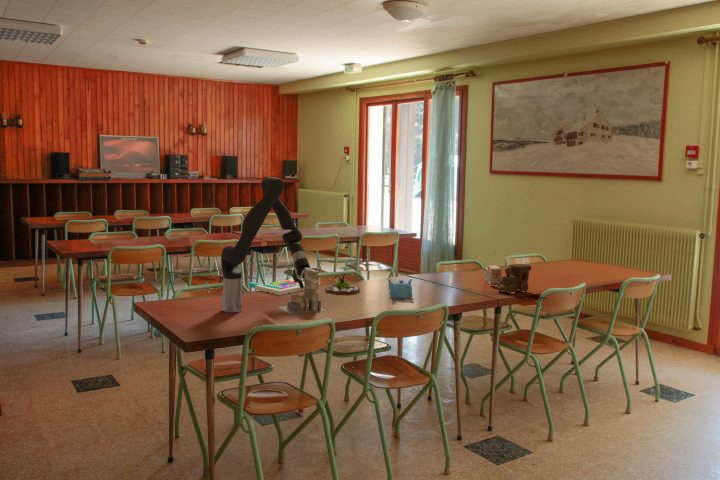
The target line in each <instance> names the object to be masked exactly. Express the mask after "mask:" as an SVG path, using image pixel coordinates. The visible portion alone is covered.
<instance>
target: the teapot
mask: <svg viewBox="0 0 720 480" xmlns="http://www.w3.org/2000/svg"><path fill="white" fill-rule="evenodd" d="M386 280H387V281H388V290H389V296H390V297H391V298H392V299H395V300H408V299H410V298H413V295H414V294H413V286H412V281H413V278H411V279H409V280H408V282H405V281H404V280H403V279H399V280H398V281H395V282H394V283H392V280H391V279H390V278H386Z"/></svg>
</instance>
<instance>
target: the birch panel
mask: <svg viewBox="0 0 720 480" xmlns="http://www.w3.org/2000/svg"><path fill="white" fill-rule="evenodd" d="M319 273H320V271H318V270H317V271H316V270H315V269H313V268H311V267H310V268H305V271H304V278H303V282H304V291H303V296H305V297H307V298H309V299H310V300H312V301H314V304H313V310H318V299H319V279H320V275H319Z"/></svg>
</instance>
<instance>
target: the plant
mask: <svg viewBox="0 0 720 480" xmlns="http://www.w3.org/2000/svg"><path fill="white" fill-rule="evenodd" d="M345 276H346V278H347V277H349V273H344V274H343V275H342V277H341V276H339V275H335V276H334V279H337V278H338V279H337V280H336V281H334V284H330V285H328V286H326V287H325V289H324V291H325V293H326V294H332V295H341V294H342V295H343V296H344V295H346V296H350V294H351V295H356V294H359V293H360V290H361V287H360V286H357V285H353V284H351V281H350V280H349V281H347V282H346V281H345Z"/></svg>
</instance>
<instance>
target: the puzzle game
mask: <svg viewBox="0 0 720 480" xmlns="http://www.w3.org/2000/svg"><path fill="white" fill-rule="evenodd" d="M301 281H302V280H301ZM302 282H303V285H304V280H303V281H302ZM248 287H249V288H253V289H254V290H255V291H258V292H264V293H267V292H269V293H268V294H272V293H273V294H272V295H277V296H283V295H288V293H289V294H292V293H294V294H295V293H298V292H299V293H300V292H303V291H302V290H304V287H303V289H301V288H300V286H299V283H298V282H294V279H293V278H290V279H286V280H285V279H284V280H279V281H273V282H270V283H269V284H263V283H259V282H256V281H255V282H253V281H252V282H248ZM266 290H272V291H266Z"/></svg>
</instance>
